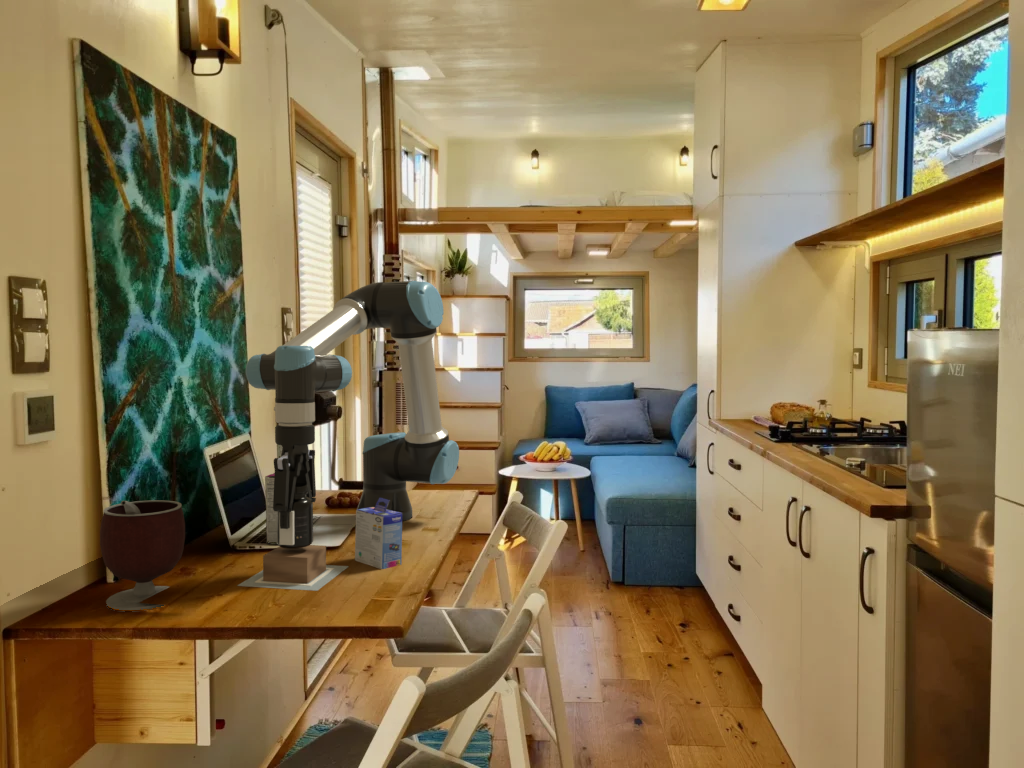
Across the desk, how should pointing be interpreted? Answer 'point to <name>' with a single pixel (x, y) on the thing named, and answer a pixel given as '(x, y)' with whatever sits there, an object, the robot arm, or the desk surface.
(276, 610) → the desk surface
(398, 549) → the ink cartridge box
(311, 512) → the supplement bottle
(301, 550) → the walnut block
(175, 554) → the mate gourd
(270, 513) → the candy bar box
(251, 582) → the grey square plate
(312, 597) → the desk surface
